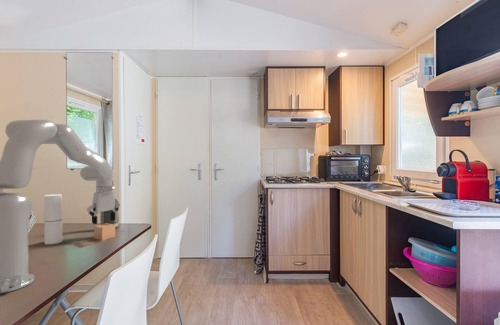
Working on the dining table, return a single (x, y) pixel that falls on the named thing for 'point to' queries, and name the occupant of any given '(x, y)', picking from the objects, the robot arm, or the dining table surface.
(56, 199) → the cylindrical container
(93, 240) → the board
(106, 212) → the liquor
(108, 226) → the orange block
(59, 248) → the dining table surface
